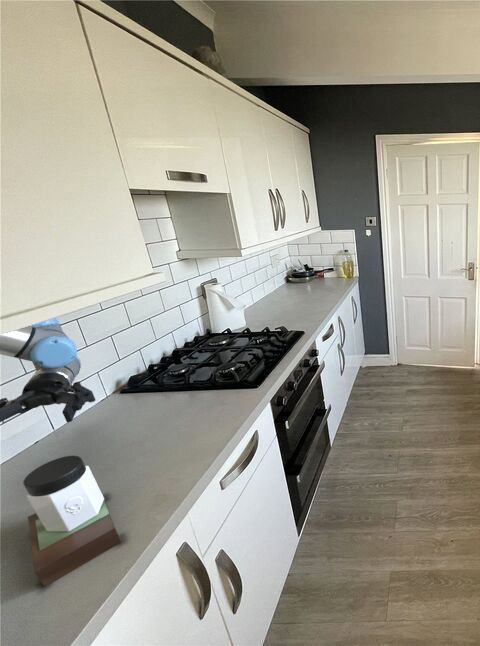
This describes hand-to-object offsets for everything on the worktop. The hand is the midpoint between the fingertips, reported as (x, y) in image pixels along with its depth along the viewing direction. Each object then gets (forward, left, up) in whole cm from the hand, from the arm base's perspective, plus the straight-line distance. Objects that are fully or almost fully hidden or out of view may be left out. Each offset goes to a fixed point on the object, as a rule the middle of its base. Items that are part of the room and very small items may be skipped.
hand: (21, 428), depth 71 cm
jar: (+12, +2, -18) cm, 21 cm away
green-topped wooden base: (+12, +1, -23) cm, 26 cm away
